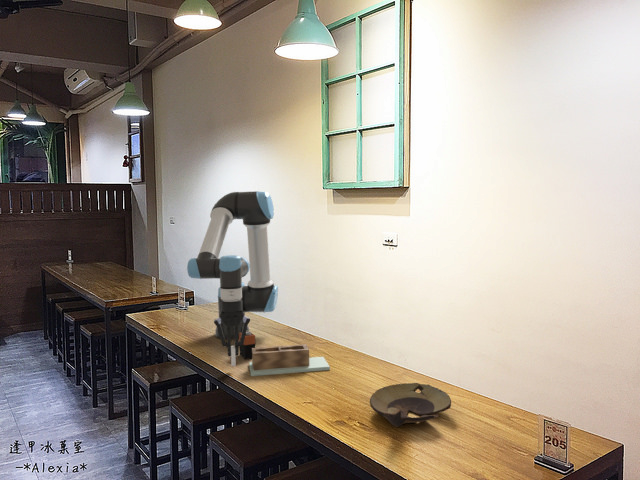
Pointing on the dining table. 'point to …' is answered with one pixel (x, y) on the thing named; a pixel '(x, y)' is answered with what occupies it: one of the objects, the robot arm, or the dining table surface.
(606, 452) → the dining table surface
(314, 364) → the board
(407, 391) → the broken dish
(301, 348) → the divided compartment tray
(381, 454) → the dining table surface
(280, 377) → the dining table surface
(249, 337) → the battery
